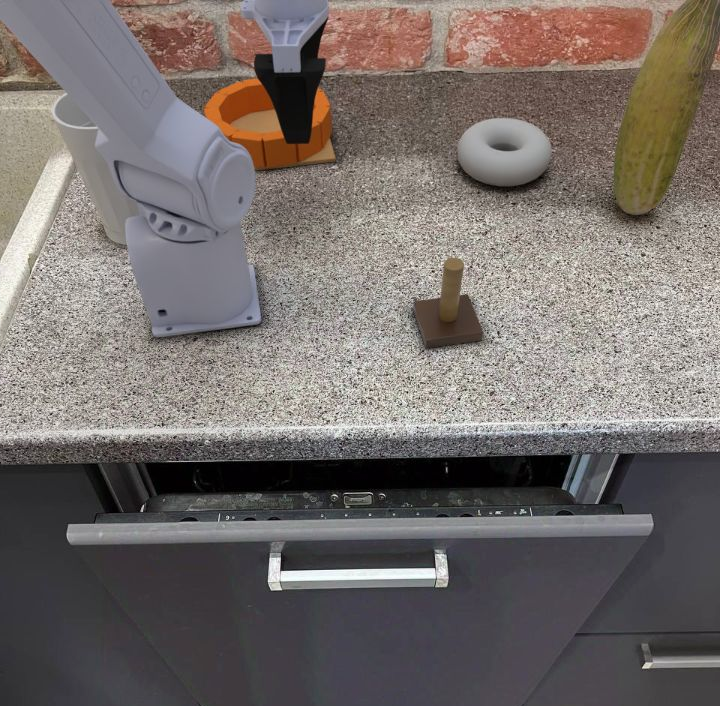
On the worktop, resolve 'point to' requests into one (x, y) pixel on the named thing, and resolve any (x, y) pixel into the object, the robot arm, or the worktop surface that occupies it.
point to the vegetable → (664, 105)
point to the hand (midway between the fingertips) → (300, 119)
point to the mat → (270, 123)
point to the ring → (270, 144)
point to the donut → (504, 152)
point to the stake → (448, 312)
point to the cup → (93, 168)
